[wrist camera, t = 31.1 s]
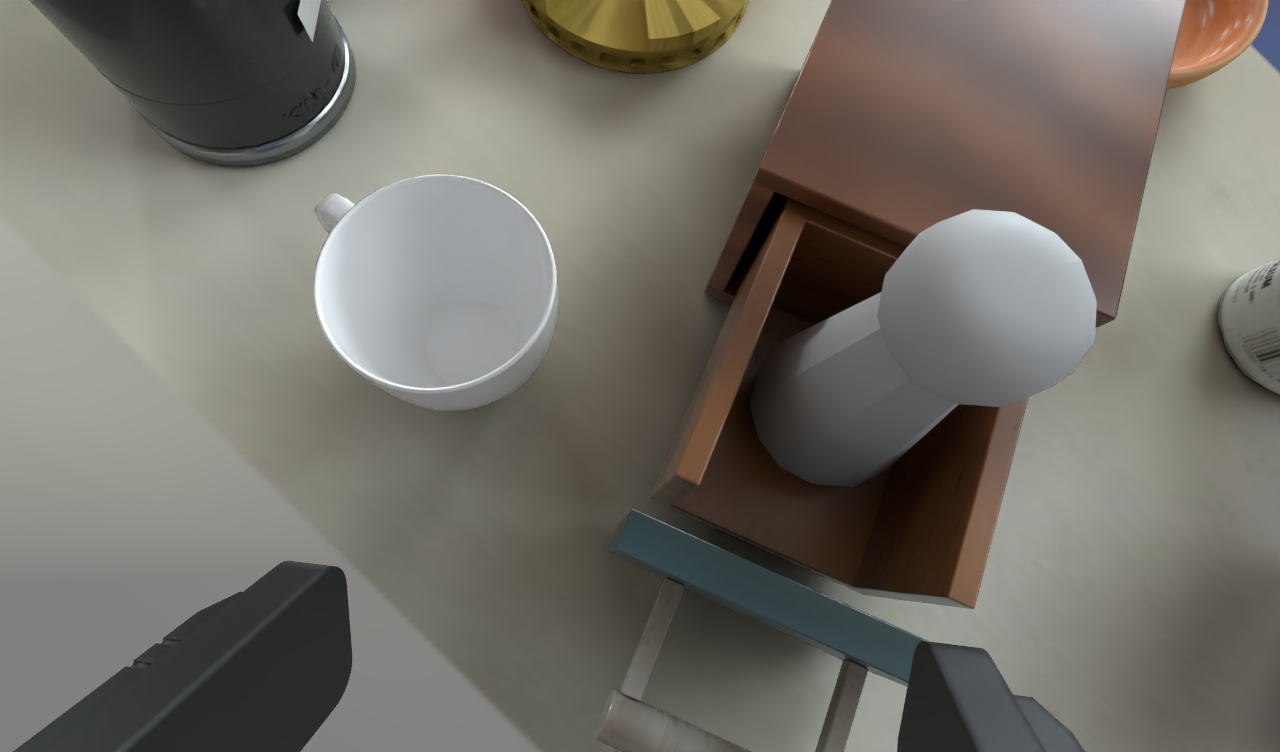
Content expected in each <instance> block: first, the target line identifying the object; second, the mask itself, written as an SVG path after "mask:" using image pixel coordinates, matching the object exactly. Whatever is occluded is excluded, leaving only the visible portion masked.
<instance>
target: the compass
mask: <svg viewBox="0 0 1280 752" xmlns="http://www.w3.org/2000/svg"><path fill="white" fill-rule="evenodd" d="M523 1H524V4H525V6H526V8H527V10H528V12H529V14H530V16H531V17H532V19H533V20H534V22H535V23H536V24H537V26H538V27H539V28H540V29H541V30H542V31H543V32H544V33H545V34H546V36H547V37H548V38H550V39H551V40H552V41H553V42H554V43H556V44H557V45H558V46H559V47H561V48H562V49H564V50H565V51H567V52H568V53H570V54H572V55H574V56H576V57H578V58H580V59H582V60H584V61H586V62H588V63H591V64H594V65H597V66H599V67H603V68H607V69H611V70H615V71H622V72H629V73H655V72H664V71H669V70H675V69H678V68H681V67H685V66H688V65H690V64H693V63H695V62H697V61H700V60H702V59H703V58H705V57H707V56H708V55H710V54H712V53H713V52H714V51H716V50H717V49H718V48H720V47H721V46H722V45H723V44H724V43H725V42H726V41H727V40H728V39H729V38H730V37H731V35H732V34H733V33H734V31H735V30H736V28H737V27H738V25H739V23H740V21H741V19H742V17H743V15H744V12H745V9H746V5H747V2H748V0H523Z"/></svg>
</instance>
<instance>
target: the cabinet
mask: <svg viewBox="0 0 1280 752" xmlns="http://www.w3.org/2000/svg"><path fill="white" fill-rule="evenodd" d="M1185 3H1186V0H832V1H831V3H830V6H829V8H828V10H827V12H826V15H825V17H824V19H823V21H822V24H821V26H820V28H819V30H818V33H817V35H816V37H815V40H814V42H813V44H812V46H811V49H810V51H809V53H808V55H807V58H806V60H805V62H804V64H803V67H802V69H801V71H800V74H799V76H798V78H797V80H796V83H795V85H794V87H793V89H792V92H791V94H790V96H789V98H788V101H787V103H786V105H785V108H784V110H783V112H782V114H781V117H780V119H779V121H778V123H777V126H776V128H775V130H774V132H773V135H772V137H771V139H770V142H769V144H768V146H767V148H766V151H765V153H764V155H763V157H762V160H761V162H760V164H759V166H758V169H757V171H756V173H755V176H754V178H753V180H752V182H751V185H750V187H749V189H748V192H747V194H746V196H745V199H744V201H743V203H742V205H741V208H740V210H739V212H738V215H737V217H736V219H735V222H734V224H733V226H732V228H731V231H730V233H729V235H728V238H727V240H726V242H725V244H724V247H723V249H722V251H721V254H720V256H719V258H718V261H717V263H716V265H715V267H714V270H713V272H712V274H711V277H710V279H709V281H708V284H707V286H706V288H705V290H704V292H705V293H706V294H709V295H711V296H713V297H716V298H718V299H720V300H723V301H725V302H727V303H730V304H732V302H733V300H734V298H735V295H736V293H737V291H738V288H739V286H740V284H741V282H742V280H743V279H744V277H745V275H746V273H747V271H748V269H749V268H750V266H751V264H752V262H753V260H754V259H755V257H756V255H757V253H758V251H759V250H760V248H761V246H762V244H763V242H764V241H765V239H766V237H767V235H768V233H769V232H770V230H771V228H772V226H773V224H774V223H775V221H776V219H777V217H778V215H779V214H780V212H781V210H782V208H783V206H784V205H785V203H786V201H787V199H788V197H789V198H792V199H794V200H796V201H799V202H801V203H803V204H806V205H808V206H810V207H813V208H815V209H817V210H820V211H822V212H825V213H827V214H829V215H832V216H834V217H836V218H839V219H841V220H843V221H846V222H848V223H851V224H853V225H855V226H858V227H860V228H862V229H865V230H867V231H869V232H872V233H874V234H876V235H879V236H881V237H884V238H886V239H888V240H891V241H893V242H895V243H898V244H900V245H902V246H905V247H908V246H909V245H910V244H911V242H912V241H913V240H914V239H915V238H916V237H917V236H918V234H919V233H921V232H922V231H924V230H926V229H928V228H929V227H931V226H933V225H934V224H936V223H938V222H940V221H943V220H946V219H948V218H951V217H954V216H957V215H959V214H962V213H965V212H967V211H970V210H973V209H976V210H991V211H1006V212H1014V213H1017V214H1019V215H1021V216H1023V217H1025V218H1027V219H1029V220H1031V221H1033V222H1035V223H1037V224H1039V225H1041V226H1043V227H1045V228H1047V229H1049V230H1050V231H1052V232H1054V233H1056V234H1057V235H1058V236H1059V237H1060V238H1061V239H1062V240H1063V241H1064V242H1065V243H1066V245H1067V246H1068V247H1069V248H1070V249H1071V250H1072V251H1073V252H1074V253H1075V254H1076V255H1077V256H1078V257H1079V258H1080V259H1081V260H1082V263H1083V265H1084V268H1085V271H1086V273H1087V276H1088V278H1089V281H1090V284H1091V286H1092V289H1093V291H1094V294H1095V298H1096V301H1097V307H1096V326H1095V328H1096V327H1099V326H1101V325H1103V324H1106V323H1108V322H1110V321H1112V320H1114V319H1115V318H1116V315H1117V310H1118V306H1119V301H1120V297H1121V292H1122V288H1123V283H1124V279H1125V274H1126V269H1127V265H1128V260H1129V256H1130V251H1131V247H1132V242H1133V238H1134V233H1135V229H1136V224H1137V220H1138V215H1139V211H1140V206H1141V202H1142V197H1143V193H1144V188H1145V184H1146V179H1147V175H1148V170H1149V166H1150V161H1151V157H1152V152H1153V148H1154V143H1155V139H1156V134H1157V130H1158V125H1159V121H1160V116H1161V112H1162V107H1163V103H1164V98H1165V94H1166V89H1167V85H1168V80H1169V76H1170V71H1171V67H1172V62H1173V58H1174V53H1175V48H1176V44H1177V39H1178V35H1179V30H1180V26H1181V21H1182V17H1183V12H1184V8H1185Z"/></svg>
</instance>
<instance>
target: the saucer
mask: <svg viewBox="0 0 1280 752" xmlns="http://www.w3.org/2000/svg"><path fill="white" fill-rule="evenodd" d="M1267 7H1268V0H1186V3H1185V8H1184V12H1183V17H1182V21H1181V26H1180V30H1179V35H1178V39H1177V44H1176V48H1175V53H1174V58H1173V62H1172V67H1171V71H1170V76H1169V80H1168V85H1167V89H1169V88H1174V87H1179V86H1183V85H1187V84H1190V83H1193V82H1195V81H1198V80H1200V79H1202V78H1205V77H1207V76H1208V75H1210V74H1212V73H1214V72H1216V71H1218V70H1219V69H1221V68H1222V67H1224V66H1225V65H1227V64H1228V63H1230V62H1231V61H1233V60H1234V59H1236V58H1237V57H1238V56H1239V55H1240V54H1242V53H1243V52H1244V51H1245V50H1246V49H1247V48H1248V47H1249V46H1250V44H1251V43H1252V42H1253V41H1254V39H1255V38H1256V36H1257V34H1258V33H1259V31H1260V29H1261V27H1262V25H1263V23H1264V20H1265V16H1266V13H1267Z"/></svg>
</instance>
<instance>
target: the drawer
mask: <svg viewBox="0 0 1280 752" xmlns="http://www.w3.org/2000/svg"><path fill="white" fill-rule="evenodd" d="M906 248H907V247H905V246H902V245H900V244H898V243H895V242H893V241H891V240H888V239H886V238H884V237H881V236H879V235H876V234H874V233H872V232H869V231H867V230H865V229H862V228H860V227H858V226H855V225H853V224H851V223H848V222H846V221H843V220H841V219H839V218H836V217H834V216H832V215H829V214H827V213H825V212H822V211H820V210H817V209H815V208H813V207H810V206H808V205H806V204H803V203H801V202H799V201H796V200H794V199H792V198H789V197H788V199H787V201H786V203H785V205H784V206H783V208H782V210H781V212H780V214H779V215H778V217H777V219H776V221H775V223H774V224H773V226H772V228H771V230H770V232H769V233H768V235H767V237H766V239H765V241H764V242H763V244H762V246H761V248H760V250H759V251H758V253H757V255H756V257H755V259H754V260H753V262H752V264H751V266H750V268H749V269H748V271H747V273H746V275H745V277H744V279H743V280H742V282H741V284H740V286H739V288H738V291H737V293H736V295H735V298H734V300H733V302H732V305H731V307H730V309H729V312H728V314H727V317H726V319H725V321H724V324H723V326H722V328H721V331H720V333H719V335H718V338H717V340H716V343H715V345H714V347H713V350H712V352H711V354H710V357H709V359H708V361H707V364H706V366H705V369H704V371H703V373H702V376H701V378H700V380H699V383H698V385H697V387H696V390H695V392H694V395H693V397H692V399H691V402H690V404H689V406H688V409H687V411H686V413H685V416H684V418H683V420H682V423H681V425H680V428H679V430H678V432H677V435H676V437H675V439H674V442H673V444H672V446H671V449H670V451H669V454H668V456H667V458H666V461H665V463H664V465H663V468H662V470H661V472H660V475H659V477H658V480H657V482H656V484H655V487H654V489H653V491H652V494H651V496H650V498H651V499H652V500H654V501H656V502H658V503H660V504H663V505H665V506H667V507H669V508H671V509H674V510H676V511H678V512H680V513H683V514H685V515H687V516H689V517H692V518H694V519H696V520H698V521H700V522H703V523H705V524H707V525H709V526H712V527H714V528H716V529H718V530H721V531H723V532H725V533H727V534H729V535H732V536H734V537H736V538H738V539H741V540H743V541H745V542H747V543H750V544H752V545H754V546H756V547H758V548H761V549H763V550H765V551H767V552H770V553H772V554H774V555H776V556H779V557H781V558H783V559H785V560H787V561H790V562H792V563H794V564H796V565H799V566H801V567H803V568H805V569H808V570H810V571H812V572H814V573H816V574H819V575H821V576H823V577H825V578H828V579H830V580H832V581H834V582H837V583H839V584H841V585H843V586H845V587H848V588H850V589H852V590H854V591H857V592H859V593H861V594H864V595H872V596H877V597H885V598H892V599H900V600H908V601H916V602H923V603H931V604H939V605H946V606H954V607H962V608H970V609H974V607H975V604H976V600H977V596H978V592H979V588H980V584H981V580H982V576H983V572H984V568H985V565H986V561H987V557H988V553H989V549H990V545H991V541H992V537H993V533H994V529H995V526H996V522H997V518H998V514H999V510H1000V506H1001V502H1002V498H1003V494H1004V490H1005V487H1006V483H1007V479H1008V475H1009V471H1010V467H1011V463H1012V459H1013V455H1014V451H1015V448H1016V444H1017V440H1018V436H1019V432H1020V428H1021V424H1022V420H1023V416H1024V412H1025V409H1026V405H1027V401H1028V398H1026V399H1024V400H1022V401H1020V402H1017V403H1013V404H1009V405H1005V406H1001V407H993V406H979V405H965V404H959V405H957V406H956V407H955V408H954V409H953V410H952V411H951V412H950V413H949V414H948V415H946V416H945V417H944V418H943V419H942V420H941V421H940V422H939V423H938V424H937V425H935V426H934V427H933V428H932V429H931V430H930V431H929V432H928V433H927V434H925V435H924V436H923V437H922V438H921V439H920V440H919V441H918V442H917V443H916V444H914V445H913V446H912V447H911V448H910V449H909V450H908V451H907V452H906V453H905V454H903V455H902V456H901V457H900V458H899V459H898V460H897V461H896V462H895V463H894V464H892V465H891V466H890V467H889V468H888V469H887V470H886V471H885V472H883V473H881V474H879V475H876V476H874V477H872V478H870V479H868V480H866V481H864V482H862V483H860V484H858V485H856V486H854V487H848V486H834V485H821V484H813V483H810V482H808V481H806V480H804V479H802V478H800V477H798V476H796V475H794V474H792V473H790V472H788V471H786V470H785V469H783V468H781V467H779V465H778V464H777V463H776V461H775V460H774V459H773V457H772V456H771V455H770V453H769V452H768V451H767V449H766V448H765V447H764V445H763V444H762V443H761V441H760V440H759V439H758V436H757V432H756V428H755V424H754V420H753V416H752V412H751V409H750V405H749V404H750V400H751V396H752V392H753V387H754V383H755V379H756V375H757V371H758V368H759V366H760V365H761V364H762V363H763V362H764V361H765V359H766V358H767V357H768V356H769V355H770V353H771V352H772V351H773V350H774V349H775V347H776V346H777V345H778V344H779V343H780V342H781V341H783V340H785V339H787V338H789V337H791V336H793V335H795V334H797V333H799V332H801V331H803V330H805V329H807V328H809V327H811V326H813V325H815V324H818V323H820V322H822V321H824V320H826V319H828V318H830V317H832V316H834V315H836V314H838V313H840V312H842V311H844V310H846V309H848V308H850V307H852V306H854V305H856V304H858V303H860V302H862V301H864V300H866V299H868V298H870V297H872V296H874V295H876V294H878V293H880V292H882V287H883V282H884V278H885V274H886V273H887V272H888V271H889V269H890V268H891V267H892V266H893V264H894V263H895V262H896V261H897V259H898V258H899V257H900V256H901V254H902V253H903V252H904V251H905V249H906ZM607 553H608V554H610V555H612V556H614V557H617V558H619V559H621V560H623V561H625V562H628V563H630V564H632V565H634V566H636V567H639V568H641V569H643V570H645V571H648V572H650V573H652V574H654V575H656V576H659V577H661V578H663V579H665V580H664V582H663V585H662V587H661V590H660V592H659V595H658V597H657V600H656V602H655V605H654V607H653V610H652V612H651V615H650V617H649V619H648V622H647V624H646V627H645V629H644V632H643V634H642V637H641V639H640V642H639V644H638V647H637V649H636V652H635V654H634V657H633V659H632V662H631V664H630V667H629V669H628V672H627V674H626V677H625V679H624V682H623V684H622V687H621V691H622V692H621V691H619V690H613V692H612V693H611V694H610V696H609V698H608V700H607V702H606V705H605V707H604V710H603V712H602V715H601V718H600V720H599V723H598V727H597V730H596V739H597V740H598V741H600V742H603V743H605V744H607V745H609V746H611V747H613V748H615V749H618V750H620V751H622V752H751V751H749V750H746V749H744V748H742V747H740V746H738V745H736V744H733V743H731V742H729V741H727V740H725V739H723V738H720V737H718V736H716V735H714V734H712V733H710V732H707V731H705V730H703V729H701V728H699V727H697V726H694V725H692V724H690V723H688V722H686V721H684V720H682V719H679V718H677V717H675V716H673V715H671V714H669V713H666V712H664V711H662V710H660V709H658V708H656V707H653V706H651V705H649V704H647V703H645V702H643V701H640V700H641V698H642V695H643V693H644V690H645V688H646V685H647V682H648V680H649V677H650V675H651V672H652V670H653V667H654V664H655V662H656V659H657V657H658V654H659V652H660V649H661V647H662V644H663V641H664V639H665V636H666V634H667V631H668V629H669V626H670V624H671V621H672V618H673V616H674V613H675V611H676V608H677V606H678V603H679V600H680V598H681V595H682V593H683V590H684V588H685V589H687V590H689V591H692V592H694V593H696V594H698V595H700V596H703V597H705V598H707V599H709V600H711V601H714V602H716V603H718V604H720V605H723V606H725V607H727V608H729V609H731V610H734V611H736V612H738V613H740V614H742V615H745V616H747V617H749V618H751V619H753V620H756V621H758V622H760V623H762V624H764V625H767V626H769V627H771V628H773V629H775V630H778V631H780V632H782V633H784V634H786V635H789V636H791V637H793V638H795V639H798V640H800V641H802V642H804V643H806V644H809V645H811V646H813V647H815V648H817V649H820V650H822V651H824V652H826V653H828V654H831V655H833V656H835V657H837V658H839V659H842V660H843V663H842V666H841V670H840V673H839V676H838V679H837V683H836V686H835V689H834V692H833V696H832V699H831V702H830V705H829V708H828V712H827V715H826V718H825V721H824V725H823V728H822V731H821V734H820V738H819V741H818V744H817V747H816V751H815V752H844V749H845V746H846V742H847V739H848V736H849V732H850V729H851V726H852V722H853V719H854V715H855V712H856V709H857V705H858V702H859V698H860V695H861V692H862V688H863V685H864V682H865V678H866V675H867V671H870V672H872V673H875V674H877V675H880V676H882V677H885V678H887V679H890V680H892V681H895V682H897V683H900V684H902V685H905V686H907V687H908V682H909V677H910V672H911V666H912V661H913V656H914V652H915V649H916V647H917V645H918V643H919V642H921V641H927V640H925V639H922V638H920V637H918V636H916V635H914V634H911V633H909V632H907V631H905V630H902V629H900V628H898V627H896V626H894V625H891V624H889V623H887V622H885V621H882V620H880V619H878V618H876V617H873V616H871V615H869V614H867V613H865V612H862V611H860V610H858V609H856V608H853V607H851V606H849V605H847V604H845V603H842V602H840V601H838V600H836V599H833V598H831V597H829V596H827V595H825V594H822V593H820V592H818V591H816V590H813V589H811V588H809V587H807V586H805V585H802V584H800V583H798V582H796V581H793V580H791V579H789V578H787V577H784V576H782V575H780V574H778V573H776V572H773V571H771V570H769V569H767V568H764V567H762V566H760V565H758V564H756V563H753V562H751V561H749V560H747V559H744V558H742V557H740V556H738V555H736V554H733V553H731V552H729V551H727V550H724V549H722V548H720V547H718V546H716V545H713V544H711V543H709V542H707V541H704V540H702V539H700V538H698V537H695V536H693V535H691V534H689V533H687V532H684V531H682V530H680V529H678V528H675V527H673V526H671V525H669V524H667V523H664V522H662V521H660V520H658V519H655V518H653V517H651V516H649V515H647V514H644V513H642V512H640V511H638V510H635V509H632V510H631V511H630V512H629V513H628V514H627V515H626V516H625V517H624V519H623V520H622V521H621V522H620V523H619V524H618V526H617V529H616V531H615V533H614V535H613V538H612V540H611V542H610V545H609V547H608V549H607ZM927 642H929V641H927Z"/></svg>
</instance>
